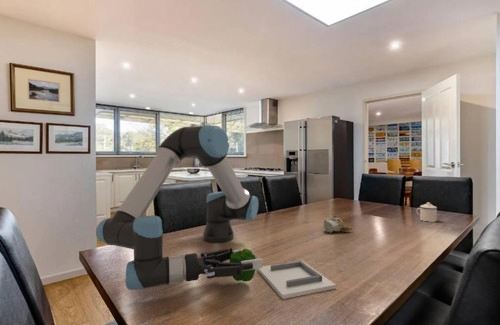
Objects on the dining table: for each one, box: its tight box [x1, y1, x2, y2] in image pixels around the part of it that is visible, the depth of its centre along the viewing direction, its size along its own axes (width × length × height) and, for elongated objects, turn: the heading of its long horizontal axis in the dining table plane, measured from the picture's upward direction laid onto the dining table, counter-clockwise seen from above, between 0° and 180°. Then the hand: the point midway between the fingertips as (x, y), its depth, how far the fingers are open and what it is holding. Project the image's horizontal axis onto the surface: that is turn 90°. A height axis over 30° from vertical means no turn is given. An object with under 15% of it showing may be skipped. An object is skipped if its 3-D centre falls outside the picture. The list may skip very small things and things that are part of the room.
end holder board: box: [257, 260, 337, 300], centre depth 86 cm, size 20×18×3 cm
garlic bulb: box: [323, 215, 353, 234], centre depth 143 cm, size 11×9×15 cm
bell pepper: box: [229, 247, 257, 283], centre depth 83 cm, size 8×8×10 cm
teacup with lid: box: [416, 201, 438, 223], centre depth 167 cm, size 12×9×12 cm
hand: (256, 257), depth 84 cm, fingers closed on bell pepper, 8 cm apart
